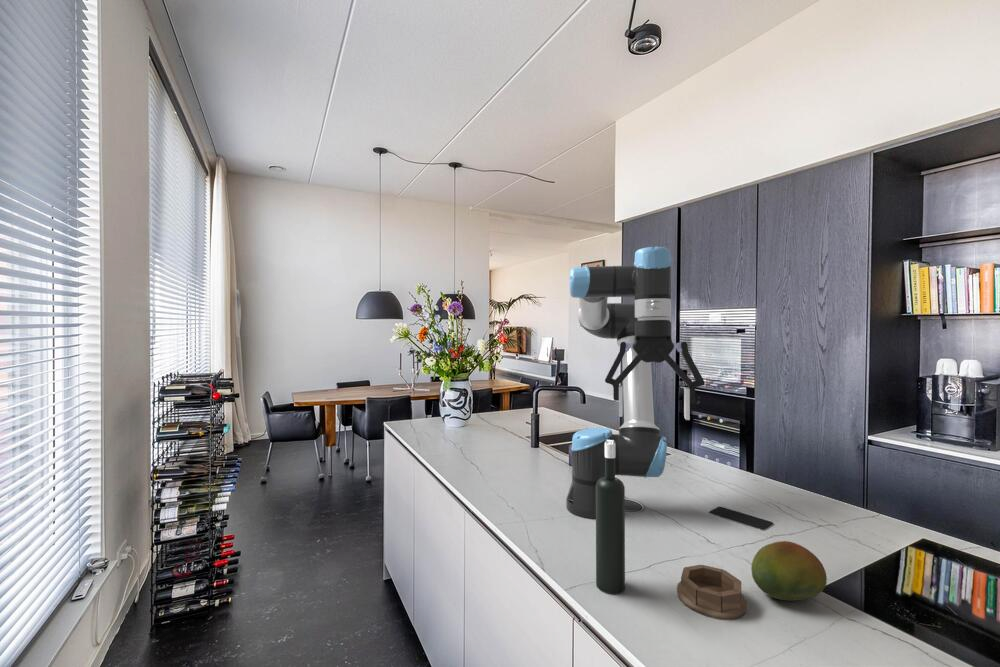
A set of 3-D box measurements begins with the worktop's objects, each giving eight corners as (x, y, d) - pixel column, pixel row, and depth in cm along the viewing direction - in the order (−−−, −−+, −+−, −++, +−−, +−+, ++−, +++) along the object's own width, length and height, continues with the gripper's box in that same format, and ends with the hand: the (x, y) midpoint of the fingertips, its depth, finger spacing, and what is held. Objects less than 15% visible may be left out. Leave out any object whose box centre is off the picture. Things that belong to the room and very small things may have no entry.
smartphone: (719, 505, 132) (775, 522, 120) (719, 508, 132) (775, 525, 120) (707, 512, 127) (763, 530, 115) (707, 514, 127) (763, 532, 115)
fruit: (834, 600, 86) (834, 549, 86) (806, 625, 79) (806, 569, 78) (770, 573, 95) (770, 527, 95) (740, 593, 88) (740, 543, 88)
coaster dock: (672, 606, 84) (672, 586, 84) (681, 575, 95) (681, 557, 95) (747, 627, 78) (747, 606, 78) (747, 591, 89) (747, 572, 89)
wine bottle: (607, 597, 87) (607, 445, 87) (590, 582, 92) (590, 438, 92) (630, 590, 89) (630, 442, 89) (612, 575, 94) (612, 436, 94)
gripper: (593, 319, 96) (593, 417, 95) (719, 318, 89) (719, 423, 89) (595, 320, 103) (595, 411, 103) (712, 319, 96) (712, 416, 96)
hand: (653, 417), depth 96 cm, fingers open, 13 cm apart
